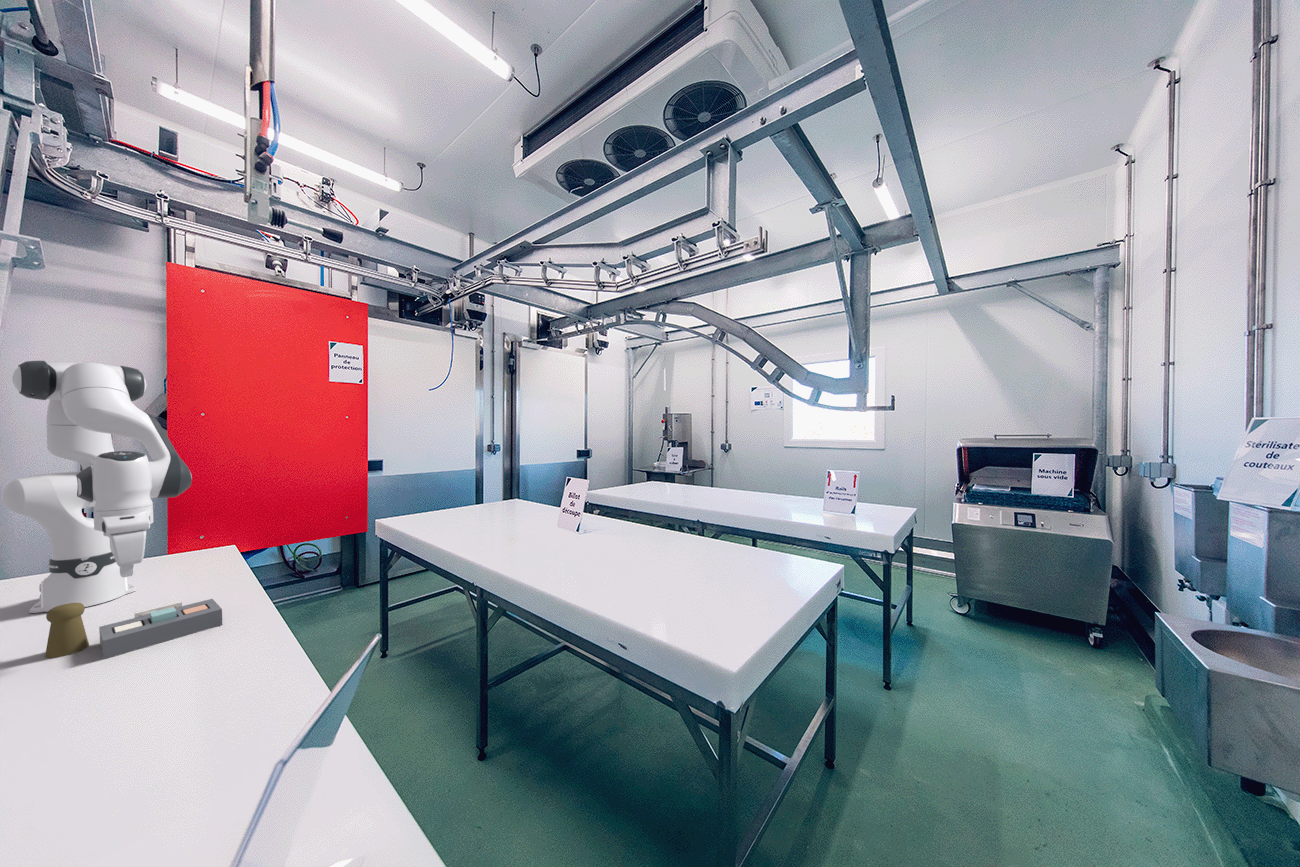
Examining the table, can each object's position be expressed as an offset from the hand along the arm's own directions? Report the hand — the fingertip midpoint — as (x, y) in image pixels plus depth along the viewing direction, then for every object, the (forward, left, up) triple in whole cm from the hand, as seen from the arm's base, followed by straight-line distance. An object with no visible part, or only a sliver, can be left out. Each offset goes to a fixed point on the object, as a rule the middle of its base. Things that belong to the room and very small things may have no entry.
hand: (126, 575), depth 99 cm
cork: (-7, -8, -17) cm, 20 cm away
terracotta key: (0, +11, -16) cm, 19 cm away
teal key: (0, +5, -14) cm, 15 cm away
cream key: (0, 0, -15) cm, 15 cm away
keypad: (0, +6, -17) cm, 18 cm away
